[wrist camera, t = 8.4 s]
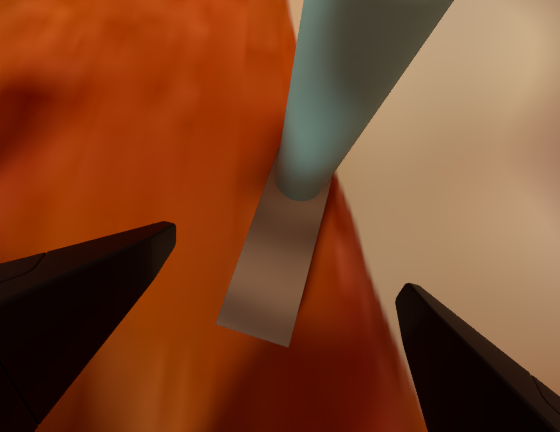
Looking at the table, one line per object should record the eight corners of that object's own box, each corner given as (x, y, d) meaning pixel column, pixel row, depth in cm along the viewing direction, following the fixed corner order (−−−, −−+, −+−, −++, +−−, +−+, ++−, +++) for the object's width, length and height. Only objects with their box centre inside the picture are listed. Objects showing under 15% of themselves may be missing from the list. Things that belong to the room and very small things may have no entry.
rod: (302, 211, 17) (416, 32, 5) (265, 178, 18) (280, -63, 5) (333, 177, 18) (492, -40, 6) (297, 147, 19) (373, -113, 6)
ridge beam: (283, 336, 17) (288, 347, 15) (222, 317, 17) (215, 324, 15) (325, 181, 22) (335, 166, 19) (275, 165, 22) (278, 147, 19)
